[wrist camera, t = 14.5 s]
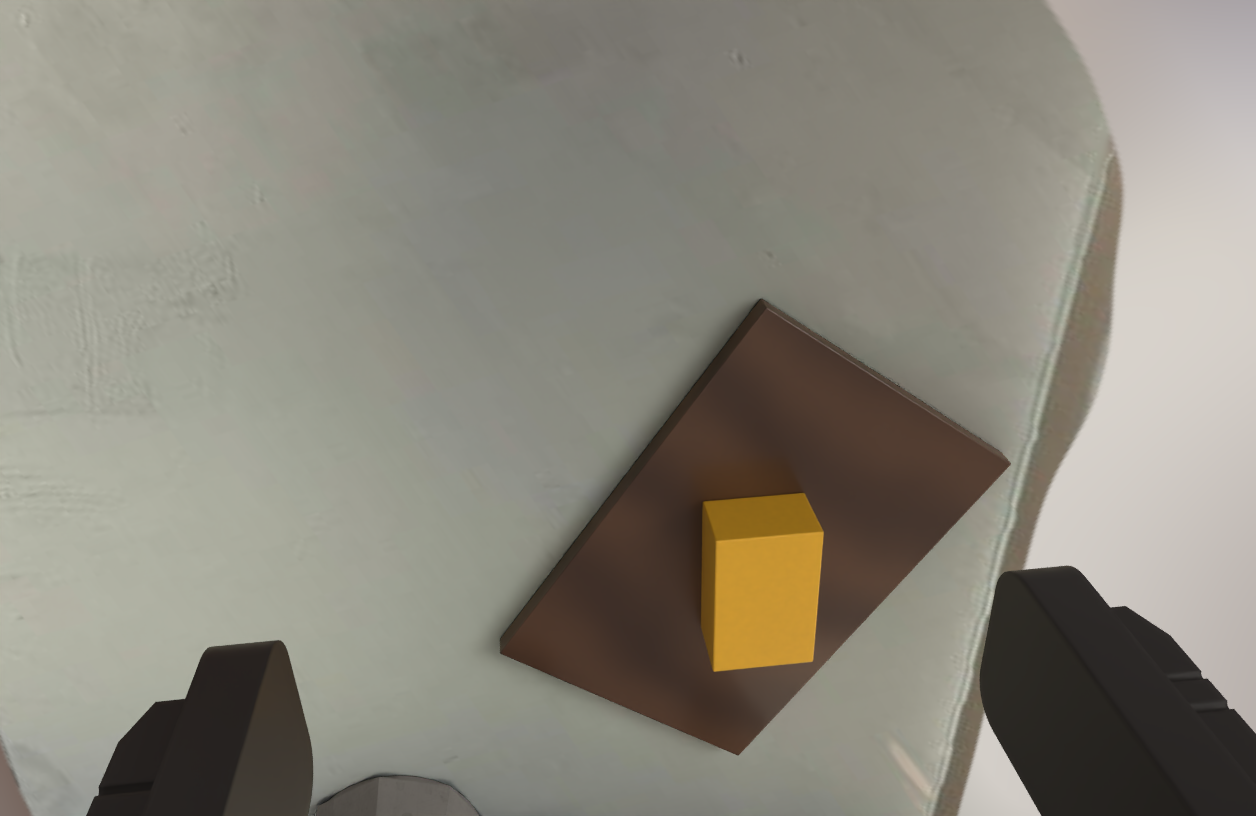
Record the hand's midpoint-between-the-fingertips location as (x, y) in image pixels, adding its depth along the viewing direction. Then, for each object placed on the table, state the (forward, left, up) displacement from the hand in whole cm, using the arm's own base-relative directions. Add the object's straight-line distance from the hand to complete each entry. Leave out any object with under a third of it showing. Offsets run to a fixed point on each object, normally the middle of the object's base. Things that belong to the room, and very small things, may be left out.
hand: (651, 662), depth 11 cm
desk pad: (+11, +18, -28) cm, 35 cm away
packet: (+11, +18, -27) cm, 34 cm away
